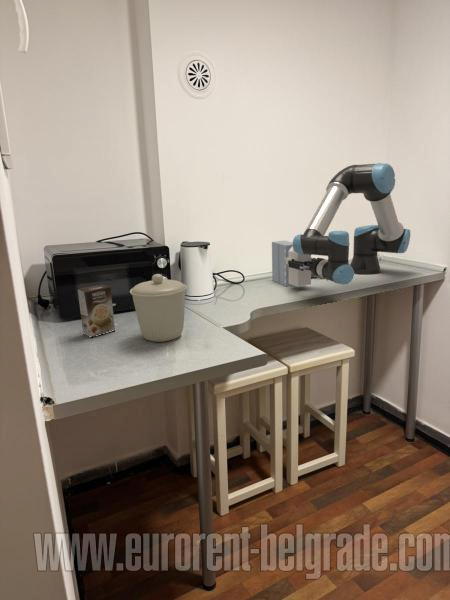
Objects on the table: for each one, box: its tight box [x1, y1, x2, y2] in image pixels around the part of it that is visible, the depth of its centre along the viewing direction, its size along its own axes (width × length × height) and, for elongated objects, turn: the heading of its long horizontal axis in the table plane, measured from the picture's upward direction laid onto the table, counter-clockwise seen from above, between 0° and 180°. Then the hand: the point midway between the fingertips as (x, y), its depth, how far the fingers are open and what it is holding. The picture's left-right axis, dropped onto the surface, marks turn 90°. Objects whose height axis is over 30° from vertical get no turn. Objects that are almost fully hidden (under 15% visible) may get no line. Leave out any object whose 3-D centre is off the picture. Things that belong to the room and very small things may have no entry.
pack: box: [271, 240, 295, 288], centre depth 203 cm, size 7×14×19 cm, turn 21°
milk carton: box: [288, 246, 312, 287], centre depth 190 cm, size 7×7×19 cm
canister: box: [129, 273, 188, 343], centre depth 139 cm, size 18×18×21 cm
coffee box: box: [77, 284, 116, 337], centre depth 146 cm, size 9×6×16 cm
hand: (295, 259), depth 193 cm, fingers closed on milk carton, 8 cm apart
